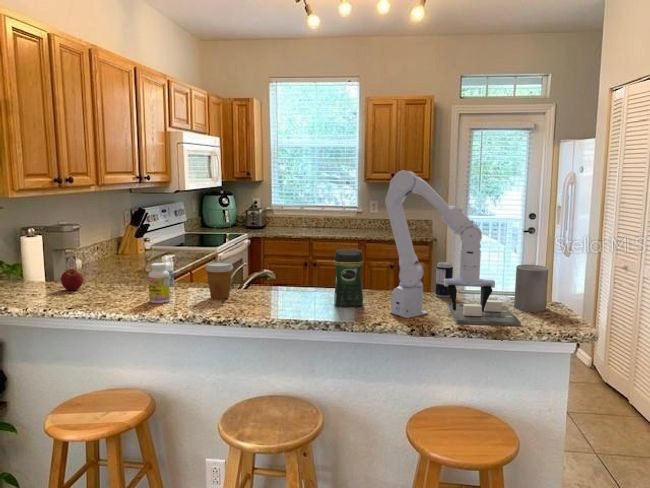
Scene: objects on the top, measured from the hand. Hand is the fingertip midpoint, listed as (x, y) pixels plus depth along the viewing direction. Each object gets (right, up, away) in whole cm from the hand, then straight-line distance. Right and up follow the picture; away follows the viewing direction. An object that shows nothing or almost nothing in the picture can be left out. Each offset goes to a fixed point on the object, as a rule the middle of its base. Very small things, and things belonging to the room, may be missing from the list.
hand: (467, 310), depth 147 cm
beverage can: (0, +1, +29) cm, 29 cm away
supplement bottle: (-99, 0, +18) cm, 100 cm away
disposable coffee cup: (-80, +1, +24) cm, 83 cm away
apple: (-136, +3, +34) cm, 140 cm away
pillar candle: (+24, -1, +13) cm, 27 cm away
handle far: (+10, 0, +11) cm, 15 cm away
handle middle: (+9, -1, +5) cm, 10 cm away
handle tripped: (+1, -1, 0) cm, 2 cm away
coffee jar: (-35, -1, +16) cm, 39 cm away
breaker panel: (+5, -2, +4) cm, 7 cm away
